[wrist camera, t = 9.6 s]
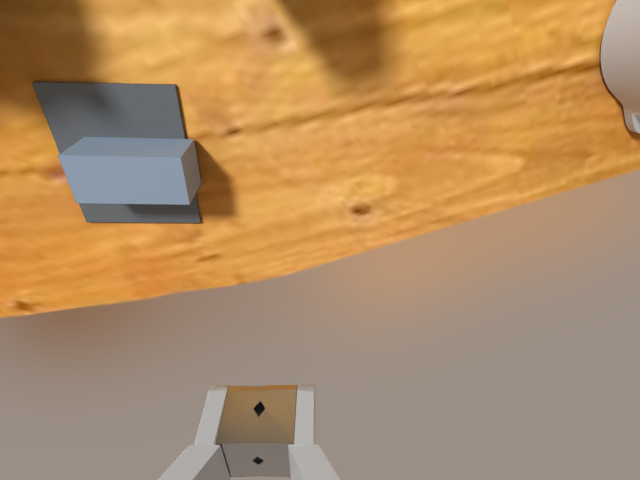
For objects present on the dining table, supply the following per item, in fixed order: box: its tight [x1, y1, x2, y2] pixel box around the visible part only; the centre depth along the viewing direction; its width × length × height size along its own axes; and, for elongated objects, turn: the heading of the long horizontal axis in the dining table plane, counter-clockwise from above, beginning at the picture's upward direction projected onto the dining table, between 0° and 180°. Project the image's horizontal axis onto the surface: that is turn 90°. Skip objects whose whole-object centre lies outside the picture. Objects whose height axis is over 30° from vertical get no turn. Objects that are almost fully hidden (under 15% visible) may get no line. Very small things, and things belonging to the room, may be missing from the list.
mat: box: [32, 82, 201, 223], centre depth 36 cm, size 12×14×1 cm
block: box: [58, 137, 201, 205], centre depth 34 cm, size 4×4×10 cm
